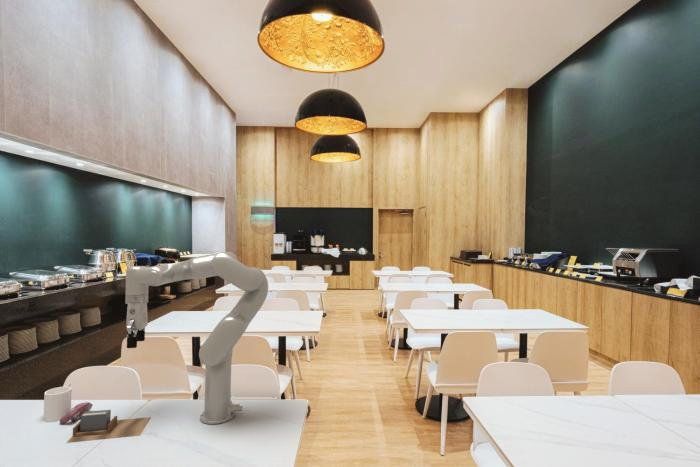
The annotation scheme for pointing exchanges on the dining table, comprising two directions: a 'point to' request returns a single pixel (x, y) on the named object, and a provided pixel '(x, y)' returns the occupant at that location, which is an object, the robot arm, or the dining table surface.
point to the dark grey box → (95, 420)
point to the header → (112, 430)
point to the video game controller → (76, 412)
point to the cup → (57, 403)
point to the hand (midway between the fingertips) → (136, 344)
